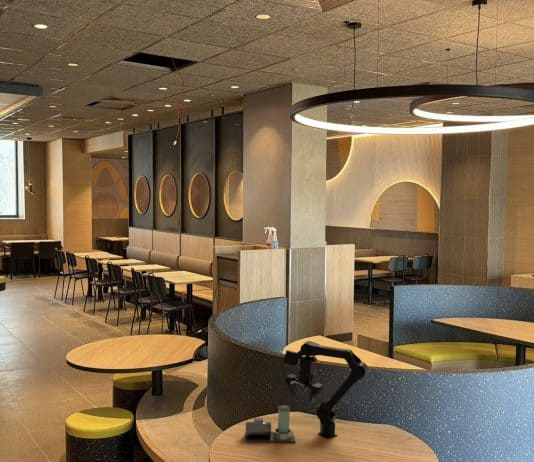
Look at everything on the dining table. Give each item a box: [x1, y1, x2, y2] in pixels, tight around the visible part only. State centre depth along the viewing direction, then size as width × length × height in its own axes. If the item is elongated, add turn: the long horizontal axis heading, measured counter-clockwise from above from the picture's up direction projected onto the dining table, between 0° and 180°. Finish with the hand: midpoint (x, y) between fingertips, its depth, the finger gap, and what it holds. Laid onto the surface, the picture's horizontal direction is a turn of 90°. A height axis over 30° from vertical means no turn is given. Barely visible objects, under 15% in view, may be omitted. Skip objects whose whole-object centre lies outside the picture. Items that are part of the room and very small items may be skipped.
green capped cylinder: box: [277, 405, 291, 434], centre depth 262 cm, size 5×5×13 cm
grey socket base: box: [244, 417, 296, 444], centre depth 262 cm, size 22×10×8 cm, turn 93°
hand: (302, 401), depth 273 cm, fingers open, 9 cm apart
